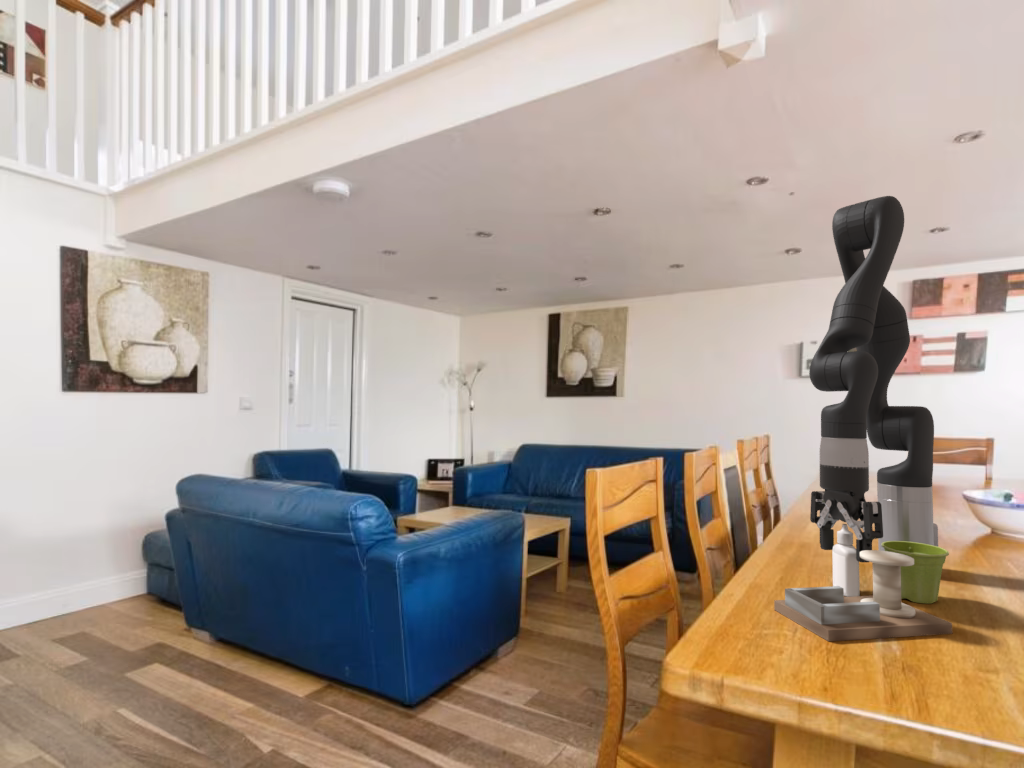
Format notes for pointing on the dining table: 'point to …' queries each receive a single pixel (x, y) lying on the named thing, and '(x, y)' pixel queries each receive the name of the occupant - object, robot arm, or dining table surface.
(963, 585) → the dining table surface
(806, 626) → the board
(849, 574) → the eye dropper bottle
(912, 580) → the plant pot
